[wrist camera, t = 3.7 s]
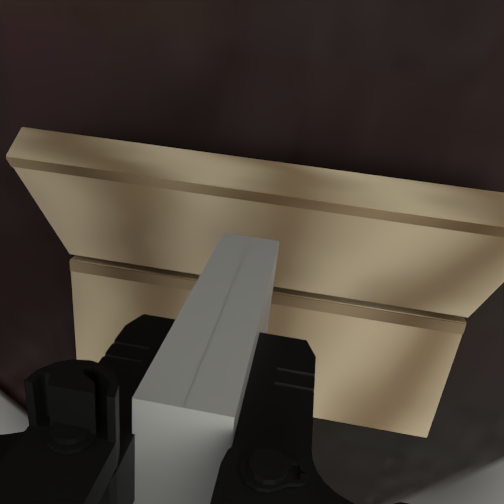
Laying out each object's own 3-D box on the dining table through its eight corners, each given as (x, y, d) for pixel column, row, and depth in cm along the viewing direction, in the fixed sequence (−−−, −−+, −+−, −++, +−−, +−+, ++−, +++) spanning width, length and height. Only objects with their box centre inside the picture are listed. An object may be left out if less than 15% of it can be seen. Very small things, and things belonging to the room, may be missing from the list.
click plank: (79, 229, 26) (69, 255, 25) (21, 126, 19) (4, 157, 18) (466, 289, 24) (468, 318, 23) (547, 198, 17) (552, 235, 17)
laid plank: (89, 358, 30) (77, 375, 28) (83, 247, 26) (69, 259, 25) (422, 417, 28) (426, 438, 26) (458, 306, 25) (466, 323, 23)
